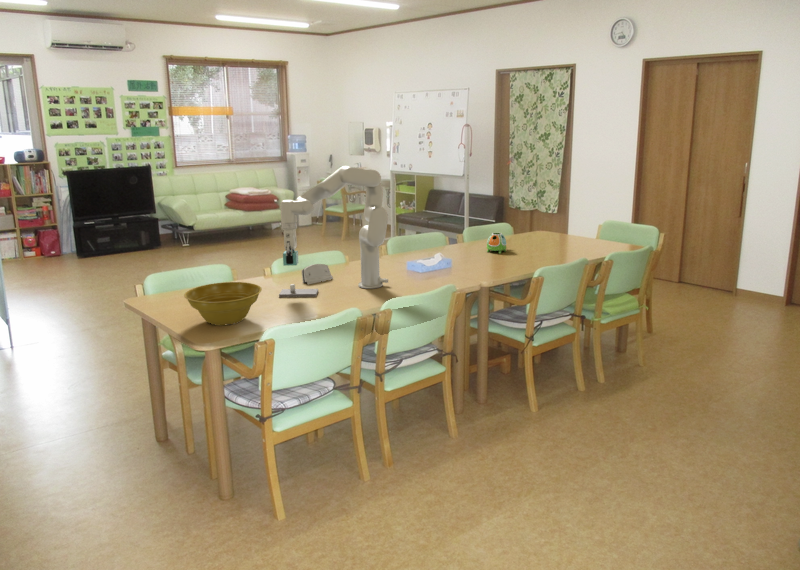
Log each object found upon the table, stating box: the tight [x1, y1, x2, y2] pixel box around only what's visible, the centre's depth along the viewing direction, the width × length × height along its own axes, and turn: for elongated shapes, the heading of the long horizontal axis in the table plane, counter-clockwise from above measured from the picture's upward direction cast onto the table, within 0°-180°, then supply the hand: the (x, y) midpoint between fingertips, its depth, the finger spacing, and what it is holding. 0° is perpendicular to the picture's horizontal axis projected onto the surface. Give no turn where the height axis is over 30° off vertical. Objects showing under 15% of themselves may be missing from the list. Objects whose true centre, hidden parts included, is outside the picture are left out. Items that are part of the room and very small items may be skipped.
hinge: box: [301, 263, 334, 285], centre depth 351 cm, size 17×5×10 cm, turn 130°
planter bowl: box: [183, 281, 263, 326], centre depth 282 cm, size 32×32×13 cm
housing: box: [282, 250, 299, 266], centre depth 319 cm, size 6×6×6 cm
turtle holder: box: [486, 232, 507, 254], centre depth 421 cm, size 12×18×12 cm
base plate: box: [278, 283, 319, 298], centre depth 324 cm, size 18×10×5 cm, turn 91°
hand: (290, 261), depth 320 cm, fingers closed on housing, 6 cm apart
